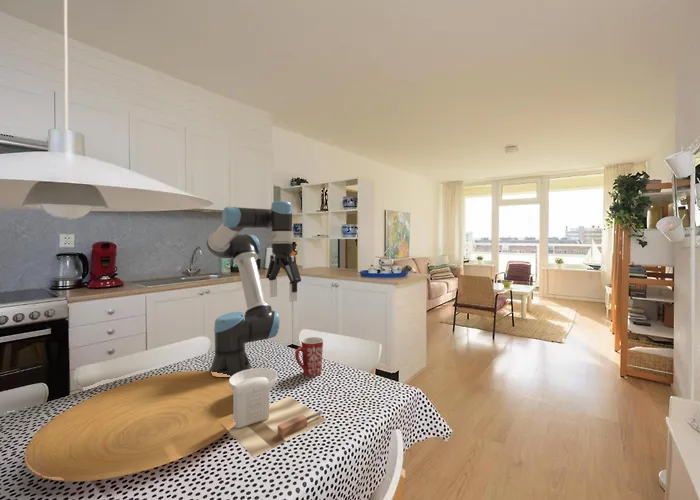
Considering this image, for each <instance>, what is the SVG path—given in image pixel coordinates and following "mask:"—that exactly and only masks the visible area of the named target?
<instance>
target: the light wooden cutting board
mask: <svg viewBox="0 0 700 500" xmlns="http://www.w3.org/2000/svg"><path fill="white" fill-rule="evenodd" d="M315 413H316V412H315V411H313V410H312V409H310V408H309V407H307V406H306V405H304V404H302V403H300V402H299V401H297V400H295V399H294V398H292V397H291V396H287V397H285V398H282V399H280V400H277V401H275V402H271V403H269V418H268V419H265V420H263V421H259V422H256V423H253V424H250V425H247V426H244V427H240V428H235V427H233V428H231V429H230V430H229V431H227V432H228V433H229V434H230V435H231V437H233V438H234V439H235V440H236V441H237V442H238V443H239V444H240V445H241V446H242V447H243V448H244V450H246V451H247V452H248V453H249V454H250V455H251V456H252V457H253V458H257V457H258V456H261V455H263V454H264V453H266V452H268V451H270V450H272V449H274V448H277V447H278V446H281V445H282V444H284V443H286V442H287V441H290V440H292V439H293V438H296V437H297V436H300V435H301V434H304V433H305V432H308V431H310V430H311V429H313V428H315V427H317V426H319V425H322V424H323V423H325V422H327V421H328V419H327V418H325V417H323V416H322V415H321V414H319V415H317V416H315V417H313V418H311V419H309V420H307V426H306V427H304V428H302V429H300V430H298V431H296V432H294V433H292V434H290V435H288V436H286V437H284V438H282V437H281V436H279V435H278V425H280V424H282V423H284V422H286V421H288V420H291V419H293V418H295V417H297V416H299V415H301V414H302V415H304V416H306V417H308V416H311V415H313V414H315Z"/></svg>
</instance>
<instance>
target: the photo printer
mask: <svg viewBox="0 0 700 500" xmlns="http://www.w3.org/2000/svg"><path fill="white" fill-rule="evenodd" d="M232 394H233V397H232V398H233V400H232V401H233V402H232V407H233V411H232V412H233V413H232V415H233V421H234V422H236V425H235V426H234V427H235V428H240V427H244V426H247V425H250V424H253V423H256V422H259V421H263V420H265V419H268V418H269V404H270V391H269V382H268V379H267V378H265V377H255V378H250V379H247V380H244V381H242V382H240V383H238V384H236V385H235V386H234V391H233V390H232Z"/></svg>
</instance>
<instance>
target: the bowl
mask: <svg viewBox="0 0 700 500" xmlns="http://www.w3.org/2000/svg"><path fill="white" fill-rule="evenodd" d="M255 377H265V378H267V379H268V382H269V392H270V391H271V390H272V388H273V387H275V384H276V383H277V379H278V372H277V371H276V370H274V369H273V368H272V369H271V368H267V367H256V368H255V367H253V368H249V369H247V370H243V371H240V372H238V373H236V374H234V375H233V376H231V377H229V380H228V383H229V387H230V390H232V392H233V391H234V386H235V385H236V384H238V383H240V382H242V381H244V380H247V379H250V378H255Z"/></svg>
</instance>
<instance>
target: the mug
mask: <svg viewBox="0 0 700 500" xmlns="http://www.w3.org/2000/svg"><path fill="white" fill-rule="evenodd" d="M300 341H301V346H299V347H297V348H296V350H295V353H294V357H295V360H296V362H297V364H298V365H299V367H300V368H301V369H302V371H303V374H304V375H305V376H306V377H317V376H320V375H321V374H322V367H323V352H324V351H323V350H324V349H323V347H324V346H323V345H324V338H321V337H318V336H310V337H304V338H301V340H300ZM300 351H301V354H302V362H301V360H300Z"/></svg>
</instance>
